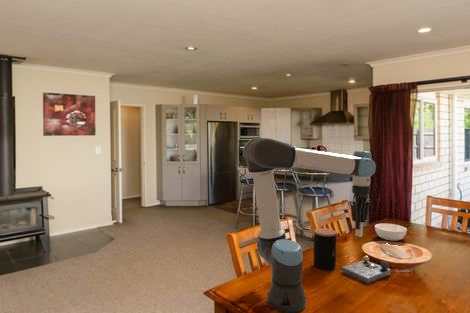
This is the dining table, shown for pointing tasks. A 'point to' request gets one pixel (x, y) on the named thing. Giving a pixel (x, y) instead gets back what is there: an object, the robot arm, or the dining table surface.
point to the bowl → (390, 231)
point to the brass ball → (366, 258)
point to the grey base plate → (365, 271)
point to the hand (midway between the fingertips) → (358, 235)
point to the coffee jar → (325, 249)
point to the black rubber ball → (384, 264)
